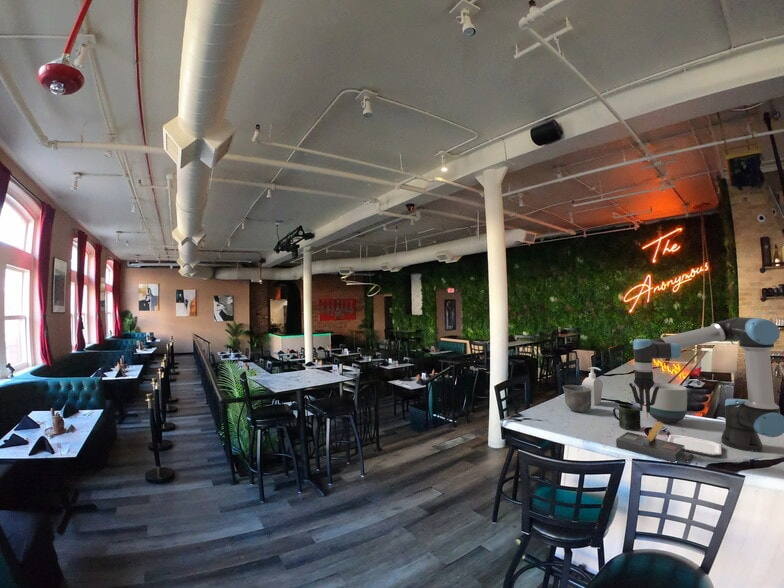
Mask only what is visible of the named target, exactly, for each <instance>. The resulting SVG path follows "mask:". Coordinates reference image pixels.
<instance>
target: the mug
mask: <svg viewBox="0 0 784 588" xmlns="http://www.w3.org/2000/svg"><path fill="white" fill-rule="evenodd" d="M616 410H617V411H618V416H617V413H616ZM612 414H613V417H614V418H615V419H616V420H617V421H618V426H619V428H621V429H623V430H626V431H627V430H628V431H634V432H637V431H640V430H641V410H640V407H639V406H637V405H633V404H617V407H614V408H613V409H612Z"/></svg>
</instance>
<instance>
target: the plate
mask: <svg viewBox="0 0 784 588" xmlns="http://www.w3.org/2000/svg"><path fill="white" fill-rule="evenodd" d="M666 441H668V442H673V443H677V444H681V445H685V452H687V453H691V454H697V455H701V456H707V457H718V456H719V457H720V456H722V449H723V448H722V445H721V443H718V442H716V441H712V440H708V439H701V438H697V437H691V436H686V435H680V434H669V435H668V438H667V440H666Z"/></svg>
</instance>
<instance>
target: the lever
mask: <svg viewBox="0 0 784 588" xmlns="http://www.w3.org/2000/svg"><path fill="white" fill-rule="evenodd" d="M664 424H665V423H664V422H661V421H658V420H657V422H655V424H654V425H653V427H652V428H651V430H650V431H649V433H648V435H646V436H647V438H646V439H649V441H650V442H651V441H653V440H654V439H655V438H656V439H657V436H658V435H659V434H660V432H661V430H662V428H663V427H664Z"/></svg>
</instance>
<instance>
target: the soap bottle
mask: <svg viewBox="0 0 784 588" xmlns="http://www.w3.org/2000/svg"><path fill="white" fill-rule="evenodd" d="M588 369H589V370H590V373H588V377H585V378H584V379H583V380H582V383H581V386H584V387H587V388H590V389H592V391H591V406H598V405H601V403H602V394H603V385H604V382H603V381H602V380H601V379H600V378H599V377H596V375H597V374H596V373H595V372H594V371H595V370H598V371H602V369H600V368H599V367H596V366H595V367H594V366H591V367H587V370H588Z"/></svg>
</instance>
